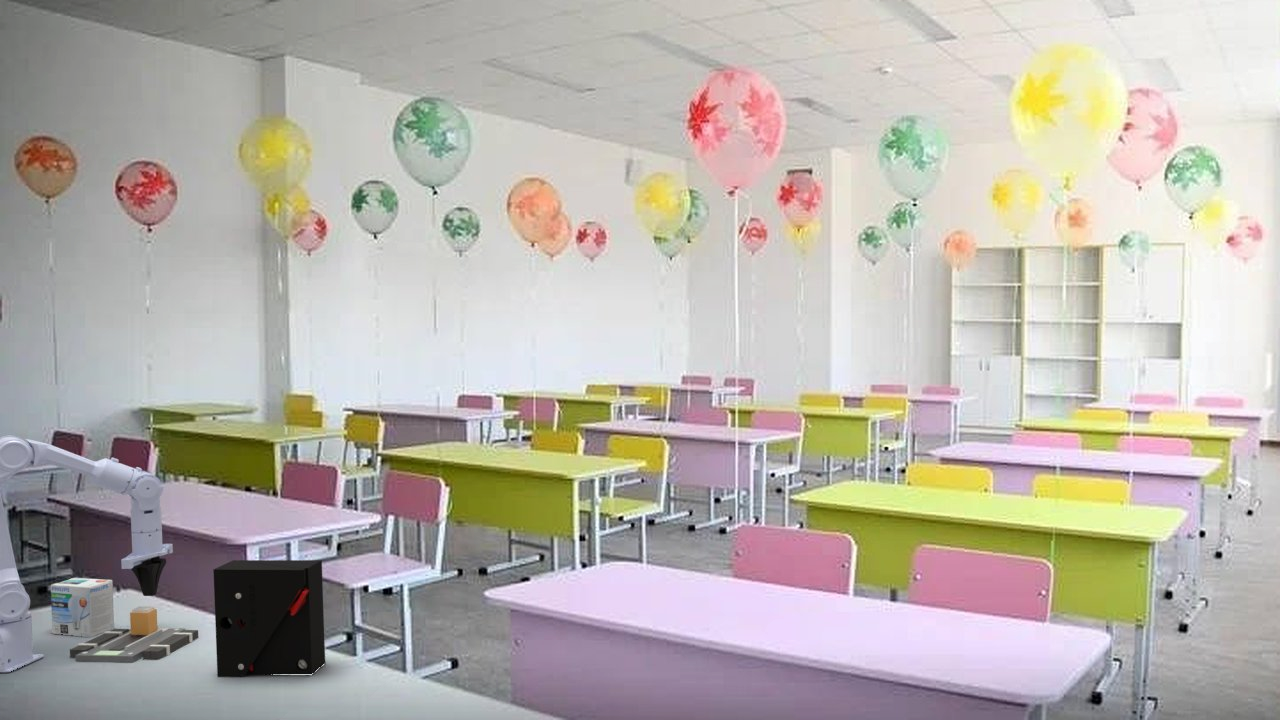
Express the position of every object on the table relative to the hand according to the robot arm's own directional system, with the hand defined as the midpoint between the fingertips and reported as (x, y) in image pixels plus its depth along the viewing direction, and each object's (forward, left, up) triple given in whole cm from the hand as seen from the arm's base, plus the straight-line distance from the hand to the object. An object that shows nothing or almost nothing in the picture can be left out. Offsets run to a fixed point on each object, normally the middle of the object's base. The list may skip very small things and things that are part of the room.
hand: (149, 595), depth 215 cm
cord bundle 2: (-6, -8, -9) cm, 14 cm away
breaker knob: (-2, 0, -7) cm, 8 cm away
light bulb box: (+4, +18, -9) cm, 21 cm away
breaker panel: (-6, 0, -9) cm, 11 cm away
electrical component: (-17, -36, -9) cm, 41 cm away
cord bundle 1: (-6, +7, -9) cm, 13 cm away
